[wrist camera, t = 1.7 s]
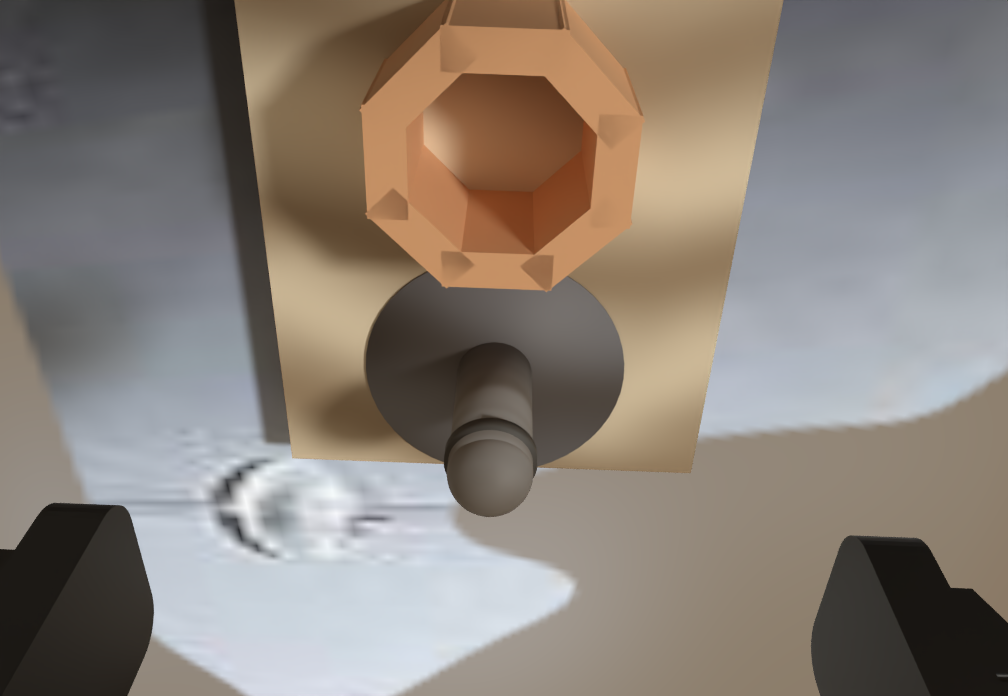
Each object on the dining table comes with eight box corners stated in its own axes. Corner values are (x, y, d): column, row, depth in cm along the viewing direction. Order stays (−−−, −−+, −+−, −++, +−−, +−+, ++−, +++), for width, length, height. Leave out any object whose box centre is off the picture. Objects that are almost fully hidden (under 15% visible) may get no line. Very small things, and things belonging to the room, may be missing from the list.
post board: (241, -84, 23) (128, -33, 16) (778, -63, 23) (881, -3, 16) (302, 436, 32) (245, 600, 25) (683, 450, 32) (724, 618, 26)
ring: (379, -16, 22) (353, 19, 19) (635, -6, 22) (656, 31, 19) (389, 220, 26) (369, 285, 22) (610, 228, 26) (623, 295, 22)
